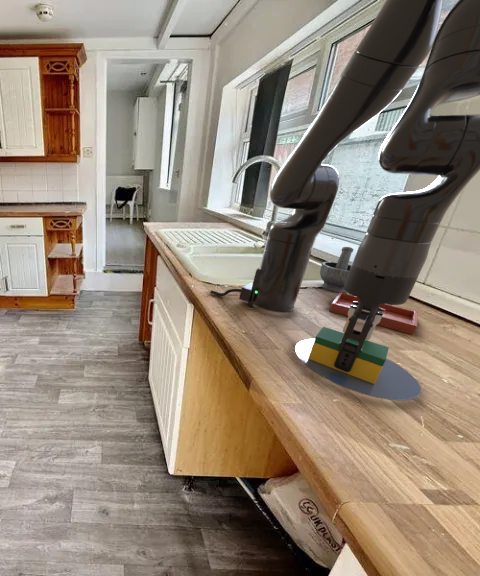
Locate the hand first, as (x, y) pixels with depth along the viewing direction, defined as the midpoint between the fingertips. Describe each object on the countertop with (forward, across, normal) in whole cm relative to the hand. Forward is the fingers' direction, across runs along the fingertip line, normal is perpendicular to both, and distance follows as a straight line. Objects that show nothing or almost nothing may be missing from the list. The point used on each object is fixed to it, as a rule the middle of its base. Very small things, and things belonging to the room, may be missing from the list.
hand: (345, 361), depth 52 cm
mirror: (+2, -1, +1) cm, 3 cm away
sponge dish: (+2, -34, +1) cm, 34 cm away
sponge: (+1, 0, 0) cm, 1 cm away
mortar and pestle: (+2, -50, -10) cm, 51 cm away
